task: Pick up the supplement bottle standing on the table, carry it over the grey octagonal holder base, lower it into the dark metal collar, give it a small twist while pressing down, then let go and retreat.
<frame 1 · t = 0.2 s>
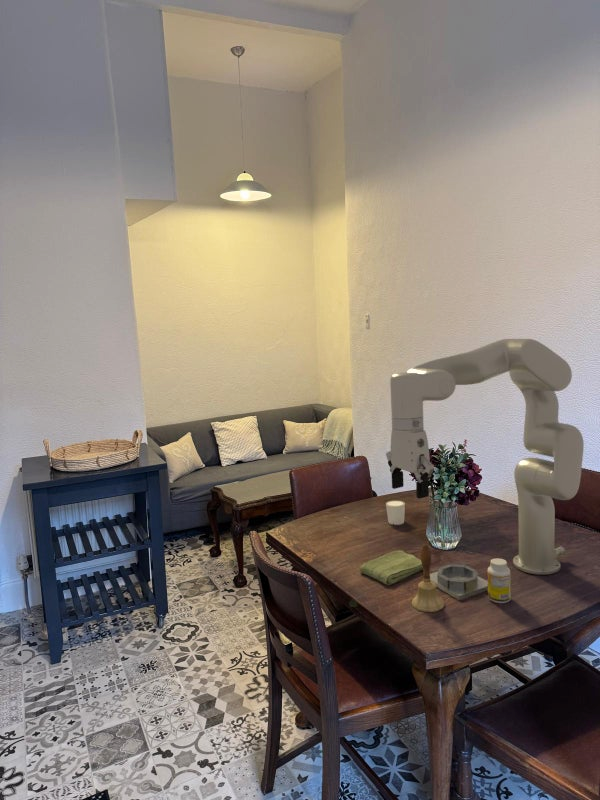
hand: (409, 492, 139), 31 cm above the table, tool pointing down, fingers open, 9 cm apart
washcloth: (393, 571, 167), on the table
grey octagonal holder base: (457, 583, 156), on the table
supplement bottle: (499, 599, 146), on the table
hand bell: (428, 604, 146), on the table
white tapered cup: (396, 522, 205), on the table
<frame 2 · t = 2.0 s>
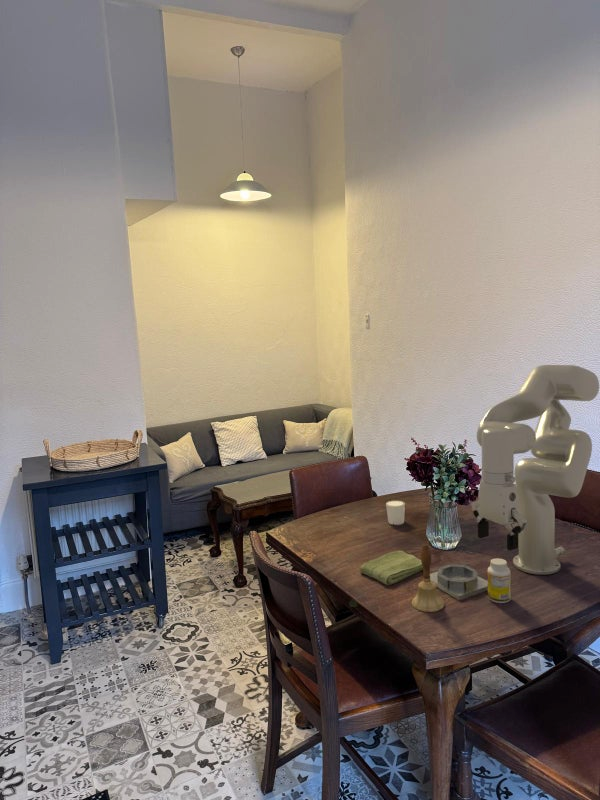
hand: (497, 542, 144), 15 cm above the table, tool pointing down, fingers open, 9 cm apart
nothing on the table moved.
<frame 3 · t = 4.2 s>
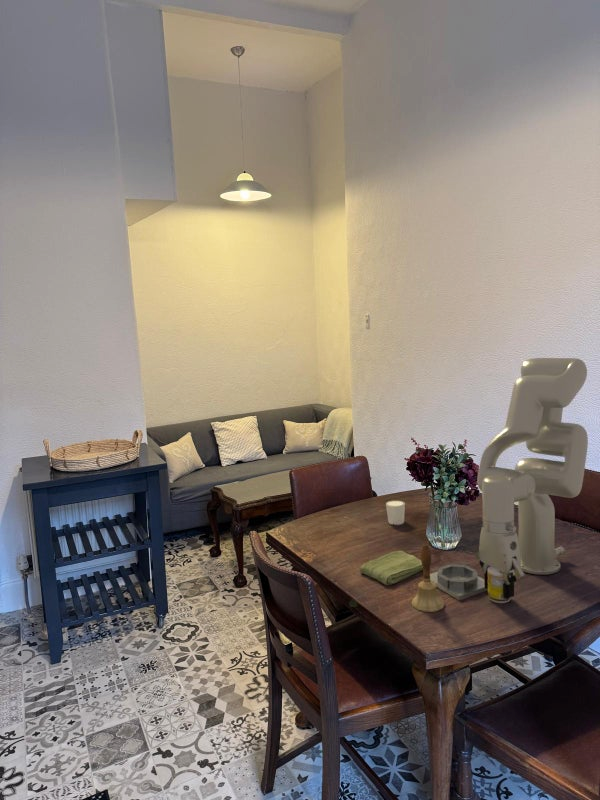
hand: (499, 591, 146), 2 cm above the table, tool pointing down, fingers closed on supplement bottle, 5 cm apart
supplement bottle: (499, 599, 146), on the table, touching gripper
everything else where it was.
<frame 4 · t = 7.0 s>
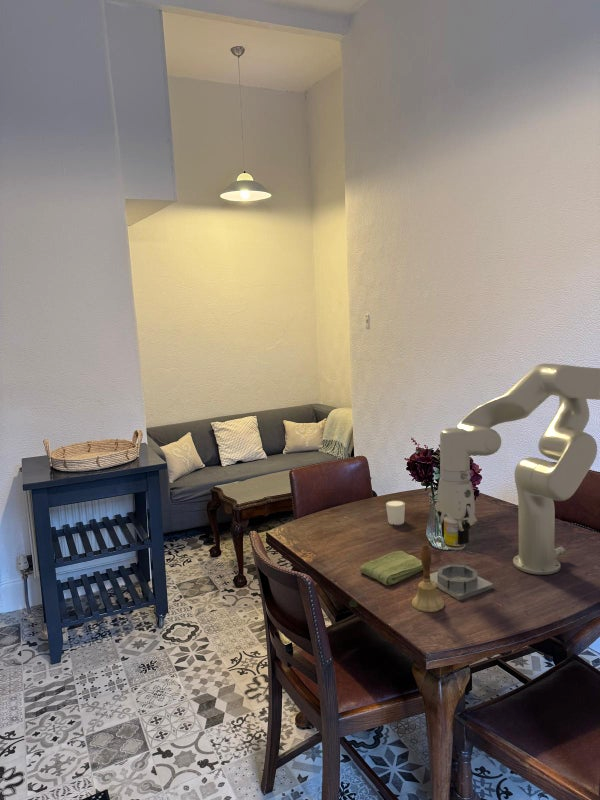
hand: (454, 539, 154), 13 cm above the table, tool pointing down, fingers closed on supplement bottle, 5 cm apart
supplement bottle: (454, 547, 154), point 11 cm above the table, touching gripper
everything else where it was.
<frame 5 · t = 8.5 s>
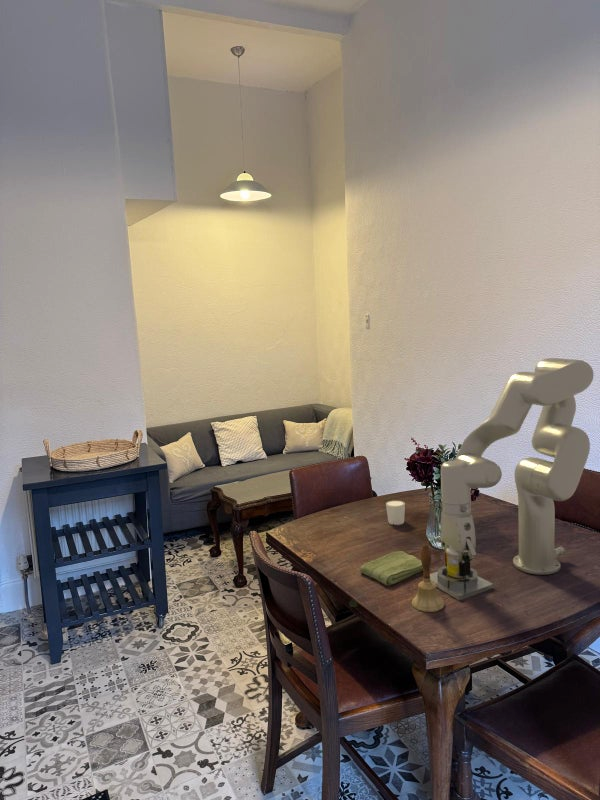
hand: (457, 570, 155), 4 cm above the table, tool pointing down, fingers closed on supplement bottle, 5 cm apart
supplement bottle: (457, 577, 155), point 2 cm above the table, touching gripper
everything else where it was.
when the fingers open (4 cm above the table, at t = 9.8 s): supplement bottle stays where it is, resting on grey octagonal holder base.
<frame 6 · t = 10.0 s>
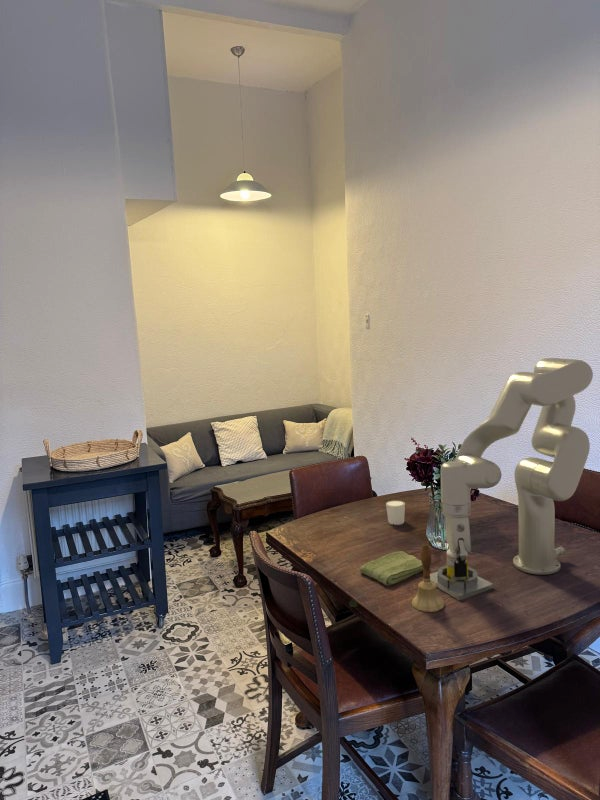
hand: (457, 569, 155), 4 cm above the table, tool pointing down, fingers open, 7 cm apart
supplement bottle: (457, 580, 155), point 1 cm above the table, touching grey octagonal holder base
everything else where it was.
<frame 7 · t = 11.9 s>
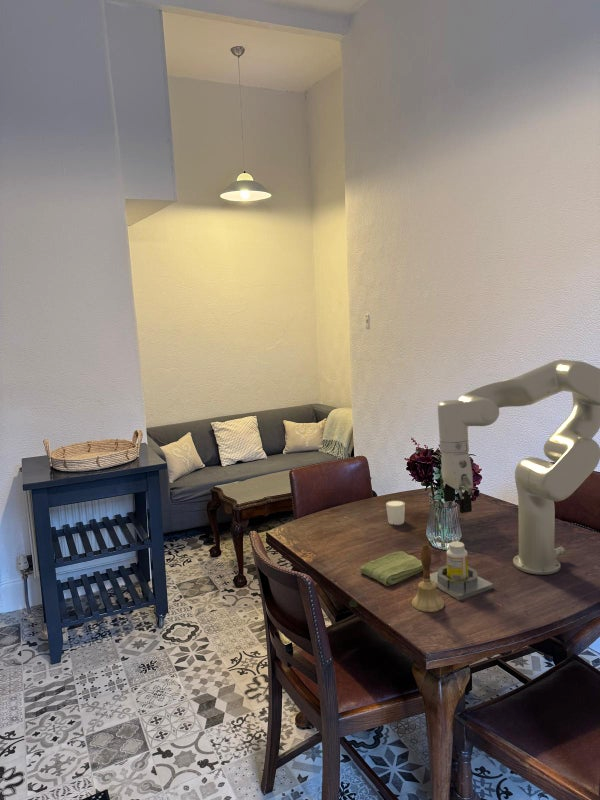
hand: (457, 506, 156), 21 cm above the table, tool pointing down, fingers open, 9 cm apart
nothing on the table moved.
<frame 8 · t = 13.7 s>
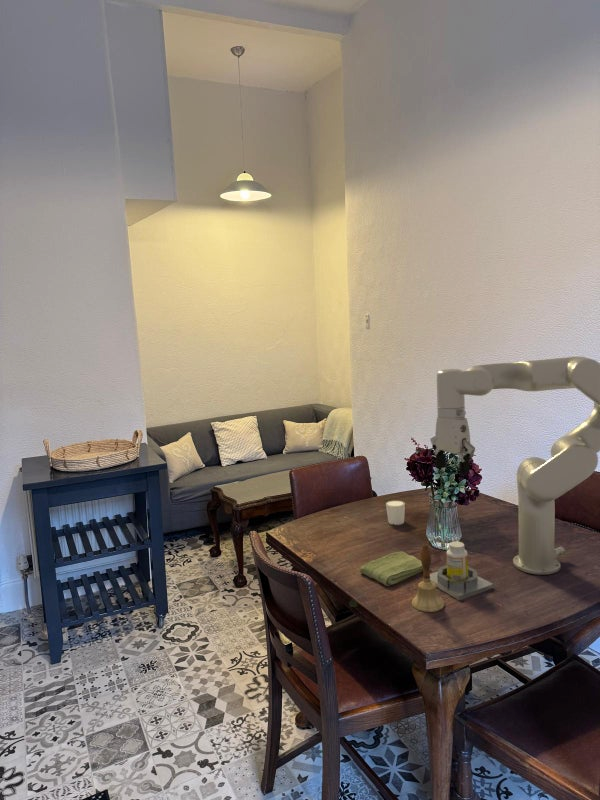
hand: (452, 471, 164), 28 cm above the table, tool pointing down, fingers open, 9 cm apart
nothing on the table moved.
at the end: supplement bottle 0.1 cm off-centre on the grey octagonal holder base, point 1.0 cm above the grey octagonal holder base's base; supplement bottle tilted 0°; the gripper is holding nothing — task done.
